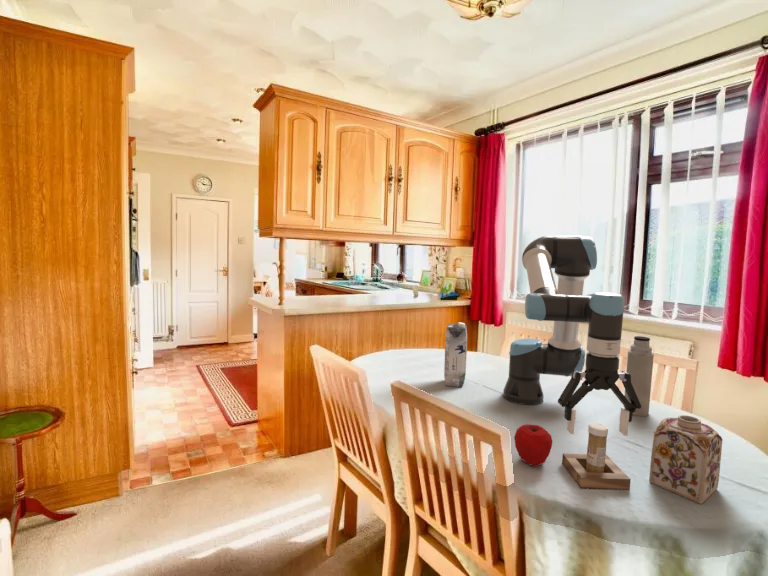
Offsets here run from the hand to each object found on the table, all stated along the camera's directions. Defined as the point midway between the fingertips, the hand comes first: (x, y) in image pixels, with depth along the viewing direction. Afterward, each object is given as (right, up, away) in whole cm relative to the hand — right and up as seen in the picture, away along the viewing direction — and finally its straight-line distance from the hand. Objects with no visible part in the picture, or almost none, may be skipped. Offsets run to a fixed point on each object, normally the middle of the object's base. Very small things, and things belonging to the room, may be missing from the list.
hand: (596, 432), depth 108 cm
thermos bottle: (+37, -8, +44) cm, 59 cm away
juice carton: (-25, -4, +72) cm, 77 cm away
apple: (-14, -11, +7) cm, 20 cm away
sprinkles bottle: (0, -12, +1) cm, 12 cm away
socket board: (0, -12, +1) cm, 12 cm away
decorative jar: (+21, -13, -3) cm, 24 cm away
